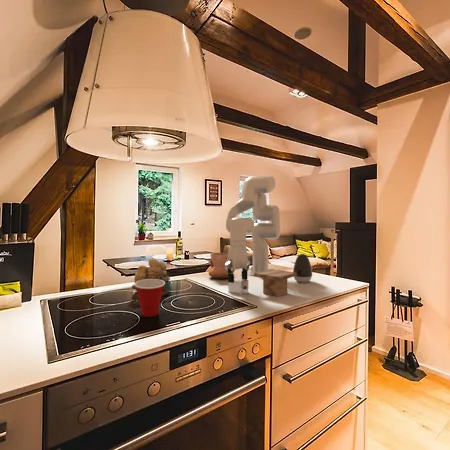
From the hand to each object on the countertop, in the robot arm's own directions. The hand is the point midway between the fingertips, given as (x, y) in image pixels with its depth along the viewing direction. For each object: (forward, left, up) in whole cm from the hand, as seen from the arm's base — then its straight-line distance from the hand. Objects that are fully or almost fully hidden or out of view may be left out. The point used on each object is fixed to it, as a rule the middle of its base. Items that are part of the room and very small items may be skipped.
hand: (237, 280), depth 133 cm
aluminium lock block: (0, +1, -6) cm, 6 cm away
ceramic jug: (-29, +19, -6) cm, 35 cm away
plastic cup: (-4, -44, -6) cm, 45 cm away
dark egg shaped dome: (+12, +41, -6) cm, 43 cm away
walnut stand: (+14, +11, -6) cm, 18 cm away
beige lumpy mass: (-26, -29, -6) cm, 40 cm away
